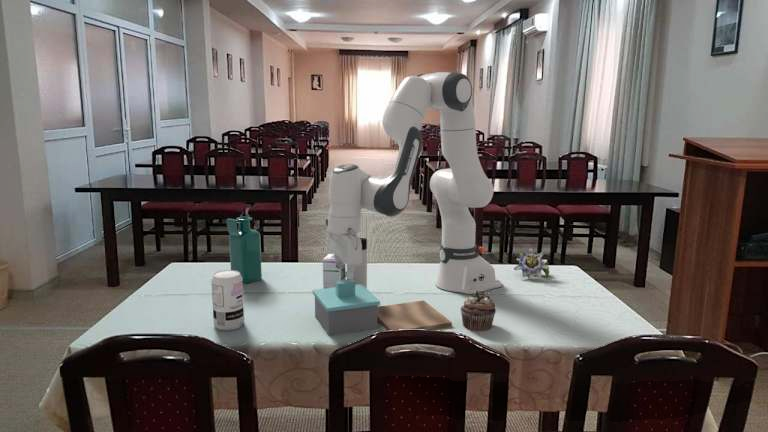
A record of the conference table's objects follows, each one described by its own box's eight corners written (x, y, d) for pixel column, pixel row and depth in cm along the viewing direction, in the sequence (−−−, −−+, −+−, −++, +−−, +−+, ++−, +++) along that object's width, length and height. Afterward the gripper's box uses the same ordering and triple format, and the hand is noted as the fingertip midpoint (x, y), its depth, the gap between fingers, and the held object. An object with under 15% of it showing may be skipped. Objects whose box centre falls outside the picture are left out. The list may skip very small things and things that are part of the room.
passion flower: (529, 293, 204) (513, 269, 200) (522, 278, 214) (506, 254, 210) (558, 278, 201) (541, 252, 197) (549, 263, 211) (534, 239, 207)
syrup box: (341, 305, 176) (341, 259, 173) (322, 303, 177) (322, 258, 174) (346, 298, 182) (346, 254, 179) (328, 297, 183) (327, 253, 180)
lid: (361, 290, 172) (361, 271, 170) (379, 308, 158) (380, 287, 157) (312, 296, 166) (312, 276, 165) (327, 315, 153) (326, 293, 151)
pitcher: (247, 273, 205) (245, 213, 200) (264, 278, 200) (262, 216, 195) (225, 280, 197) (222, 218, 192) (242, 285, 192) (239, 221, 187)
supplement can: (217, 320, 164) (214, 269, 161) (246, 319, 165) (244, 269, 161) (211, 331, 156) (208, 279, 153) (242, 331, 157) (239, 278, 153)
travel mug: (352, 304, 177) (352, 241, 173) (343, 297, 183) (343, 236, 178) (370, 301, 180) (370, 239, 175) (361, 294, 185) (361, 234, 181)
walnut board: (423, 304, 178) (423, 300, 177) (451, 326, 161) (451, 322, 161) (369, 311, 171) (369, 307, 171) (392, 335, 155) (392, 331, 155)
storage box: (360, 310, 172) (360, 288, 171) (377, 328, 160) (377, 304, 158) (315, 316, 167) (314, 293, 166) (328, 335, 154) (328, 310, 153)
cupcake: (490, 318, 167) (492, 286, 165) (497, 332, 158) (499, 298, 155) (457, 318, 167) (458, 286, 165) (463, 332, 157) (464, 298, 155)
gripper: (368, 232, 149) (367, 283, 152) (344, 216, 167) (343, 262, 170) (345, 234, 147) (344, 286, 149) (323, 217, 165) (323, 264, 168)
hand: (344, 273), depth 160 cm, fingers open, 8 cm apart
